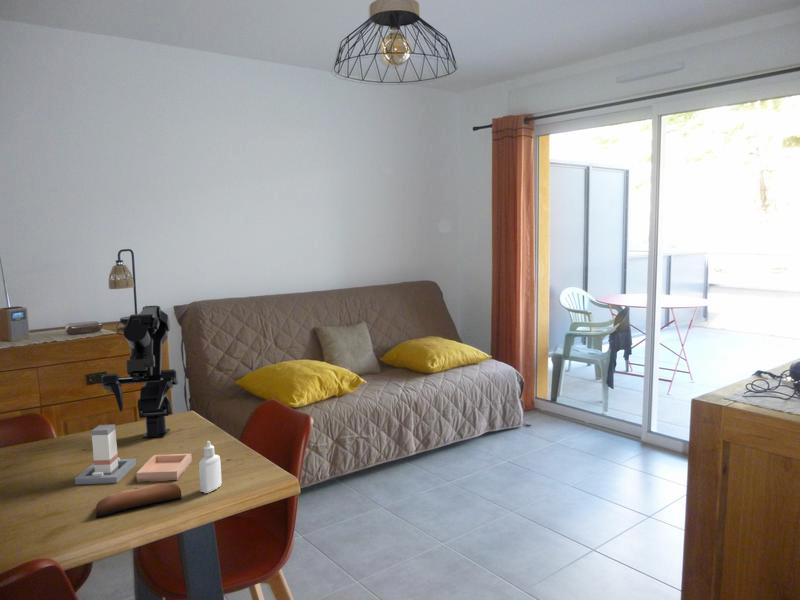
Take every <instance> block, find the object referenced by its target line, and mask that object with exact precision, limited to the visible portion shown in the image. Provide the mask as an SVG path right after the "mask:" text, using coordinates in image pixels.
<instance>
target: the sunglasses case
mask: <svg viewBox="0 0 800 600" xmlns="http://www.w3.org/2000/svg"><path fill="white" fill-rule="evenodd" d="M182 497H183V496H182V490H181V488H180V486H179V485H178V484H176V483H167V482H166V483H165V482H163V483H162V482H160V483H154V484H150V485H146V486H141V487H135V488H133V489H127V490H121V491H118V492H114V493H112V494H109V495H108V496H106V497H104V498H101V499H100V500H99V501H98V502H97V504H96V506H95V507H96V508H95V518H96V517H97V518H98V517H99V518H100V517H103V516H107V515H111V514H113V513H117V512H119V511H124V510H127V509H130V508H133V509H134V508H136V507H142V506H146V505H149V504H155V503H160V502H164V501H170V500H174V499H180V498H182Z"/></svg>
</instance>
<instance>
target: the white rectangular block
mask: <svg viewBox="0 0 800 600" xmlns="http://www.w3.org/2000/svg"><path fill="white" fill-rule="evenodd" d="M90 433H91V443H92V453H93V455H92V456H93V463H94V469H95V472H103V475H113V474H114V473H115V472H116V471H117V470H118V469H119V467H118V458H119V455H118V444H117V434H116V433H117V432H116V424H113V423H112V424H98V425H97V426H96V427H94V428H93V429H92V430H91V432H90Z"/></svg>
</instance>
